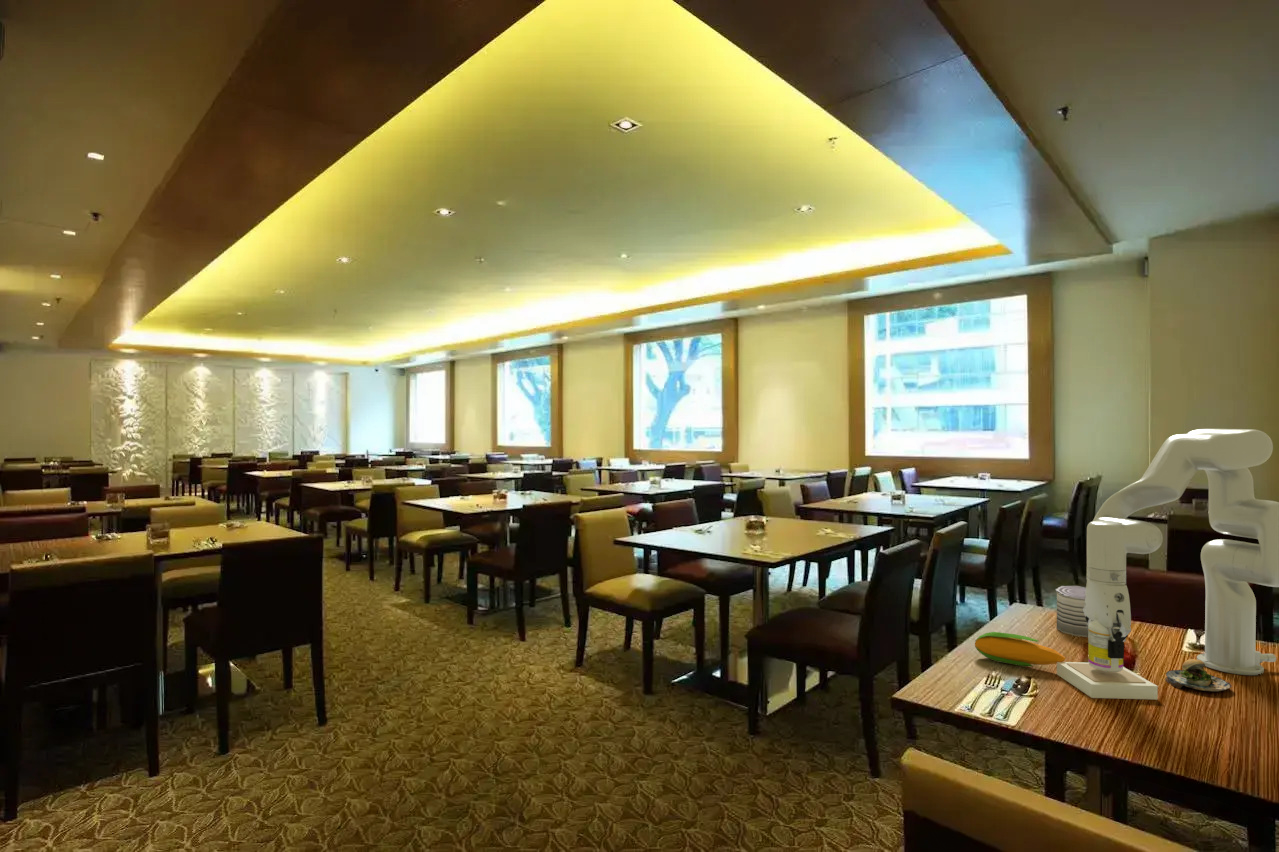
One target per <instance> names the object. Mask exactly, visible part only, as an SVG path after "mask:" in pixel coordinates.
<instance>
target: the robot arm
mask: <svg viewBox="0 0 1279 852" xmlns="http://www.w3.org/2000/svg"><path fill="white" fill-rule="evenodd" d="M1273 443H1274V442H1273V441H1272V438H1271V437H1270V436H1269V435H1268V434H1267V433H1265V431H1262V430H1258V429H1247V428H1246V429H1245V428H1197V429H1194V430H1190V431H1188V432H1187V433H1180V434H1179V433H1178V434H1173V435H1171V436H1169V437H1167V438H1166V439H1165V440H1164V442H1163V443H1162V444H1161V446H1160V447H1159V450H1158V451H1157V453H1156V454H1155V456H1154V457H1153V459H1152V461H1151V462H1150V464H1149V465H1148V467H1147V469H1146V470H1145V472H1143V475H1142V477H1140V479H1139V480H1137V481H1135V482H1132V483H1130V484H1129V485H1127V486H1125V487H1124V488H1122V489H1119V491H1117V492H1115V493H1113V494H1112V495H1111V496H1109V497H1108V498H1107V499H1106V500H1105V501H1104V502H1103V503H1102V504H1101V506H1100V508H1099V509H1098V511H1097V512H1096V514H1095V515H1094V518H1093V520H1092V521H1090V522H1089V523H1088V524H1087V526H1086V584H1085V585H1086V586H1085V588H1086V594H1085V607H1084V608H1083V612H1084V614H1085V617H1086V618H1085V619H1086V621H1087V623H1088V624H1087V628H1088V625H1089V623H1090V622H1092V621H1094V619H1095V618H1094V617H1093V612H1095V613H1097V614H1098V617H1099V620H1098V621H1099V623H1100V624H1101V625H1103V626H1105V627H1107V629H1108V633H1109V637H1110V640H1108V657H1109V658H1117V659H1123V660H1124V658H1125V642H1126V641H1127V640H1126V639H1127V638H1128V635H1129V634H1130V633H1131V632H1132V628H1131V625H1132V614H1131V602H1130V601H1131V600H1130V594H1129V588H1128V585H1127V554H1129V553H1130V554H1138V555H1139V554H1140V555H1147V554H1151V553H1154V552H1156V551H1157V550H1159V548H1161V546H1162V544H1163V542H1164V541H1163V539H1164V538H1163V537H1164V536H1163V533H1162V531H1161V530H1160V528H1159V527H1158V526H1157V525H1155V524H1152V523H1150V522H1147V521H1143V520H1138V519H1131V518H1128V517H1129V516H1131V515H1133V514H1134V513H1135V512H1138V511H1140V510H1143V509H1146V508H1150V507H1156V506H1160V505H1164V504H1169V503H1171V502H1174V501H1177V500H1178V499H1180V498H1181V497H1182V496H1183V494H1184V493H1185V491H1186V489H1187V487H1188V485H1189V484H1190V482H1191V480H1192V478H1193V477H1194V475H1196V473H1197V472H1198V471H1202V470H1203V471H1204V473H1205V474H1206V476H1207V477H1206V478H1207V481H1208V522H1209V525H1210V527H1211V528H1212V529H1213V530H1214V532H1215V531H1216V532H1217V533H1219V534H1223V535H1229V536H1235V537H1240V538H1241V537H1242V538H1248V539H1254V540H1255V539H1256V540H1258V541H1257V542H1258V543H1252V542H1246V541H1242V540H1241V541H1240V540H1236V539H1235V540H1233V539H1224V538H1223V539H1222V538H1220V539H1218V538H1217V539H1213V540H1210V541H1207V542H1206V543H1205V544H1204V545H1203V546H1202V548H1201V552H1200V561H1201V567H1202V571H1203V575H1204V585H1205V602H1204V603H1205V604H1204V606H1205V610H1204V611H1205V612H1204V613H1205V614H1204V615H1205V617H1204V618H1205V620H1204V622H1205V623H1204V653H1200V654H1198V655H1196V659H1197V660H1200V661H1202V662H1203V663H1204V664H1205V668H1209V669H1212V670H1216V671H1220V672H1223V673H1228V674H1234V675H1242V676H1259V675H1258V674H1260V675H1262V674H1264V672H1265V670H1264V669H1265V668H1264V666H1263V665H1261V663H1263V662H1267V663H1268V662H1269V663H1275V662H1276V661H1277V656H1276V655H1275V654H1274V653H1262V652H1260V651H1257V650H1256V635H1257V634H1256V627H1257V626H1256V625H1257V624H1256V622H1257V619H1256V618H1257V617H1256V616H1257V600H1256V597H1255V594H1254V592H1253V589H1252V588H1251V587H1250V584H1249V583H1251V584H1256V585H1261V586H1266V587H1272V588H1279V501H1275V500H1268V499H1258V498H1256V497H1255V493H1254V491H1255V490H1254V489H1255V487H1254V478H1253V477H1254V476H1253V475H1252V472H1251V471H1250V469H1249V468H1252V467H1256V466H1261V465H1262V464H1264V463H1265V462H1267V460H1269V459H1270V457H1271V456H1272V454H1273V450H1274V445H1273ZM1113 624H1117V626H1113ZM1113 630H1118V632H1116V634H1115V635H1114V631H1113ZM1261 673H1262V674H1261Z"/></svg>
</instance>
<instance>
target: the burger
mask: <svg viewBox="0 0 1279 852" xmlns="http://www.w3.org/2000/svg"><path fill="white" fill-rule="evenodd" d="M1187 652H1188V655H1189V659H1187V660H1185V661H1184V662H1183V663H1182V665H1181V666H1182V667H1181V668H1182V669H1173V670H1168V671H1166V672H1165V675H1166V677H1165V679H1164V680H1165V682H1166V683H1167V684H1170V685H1172V686H1173V687H1175V688H1176V689H1180V690H1181V688H1182V687H1183V686H1184V687H1186V688H1190V689H1194V690H1198V691H1204V692H1221V691H1226V690H1228V689H1231V688H1232V687H1233V686H1232V685H1233V684H1231V683H1230V682H1229V681H1226V680H1225V679H1222V678H1220V677H1219V676H1218V677H1217V676H1214V675H1212V674H1209V673H1208V672H1207V671H1206V669H1205V668H1206V666H1205V664H1204V663H1203V662H1202V661H1200V660H1197V658H1196V659H1195V658H1191V654H1190V651H1189V650H1188V651H1187Z"/></svg>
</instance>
